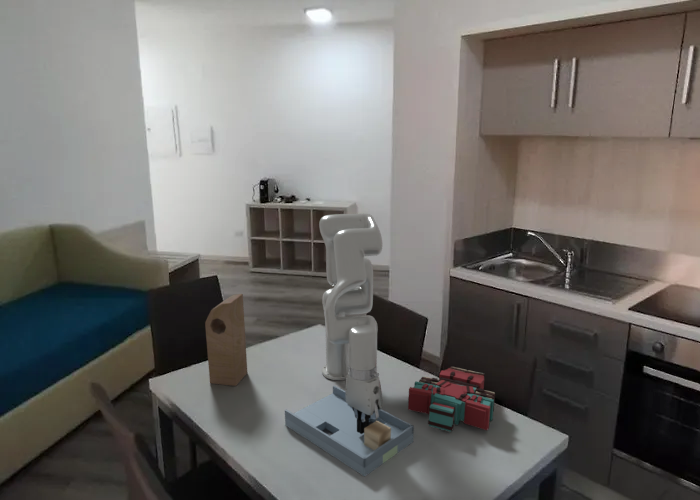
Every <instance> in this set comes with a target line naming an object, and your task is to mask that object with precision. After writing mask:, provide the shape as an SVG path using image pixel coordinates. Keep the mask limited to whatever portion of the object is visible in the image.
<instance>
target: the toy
mask: <svg viewBox="0 0 700 500" xmlns="http://www.w3.org/2000/svg"><path fill="white" fill-rule="evenodd" d="M438 376H439V377H438V378H436V377H428V376H421V378H420V379H419V380H418V381H415V382H414V386H413V387H412V386H409V388H408V398H407V399H408V400H407V401H408V403H407V404H408V405H407V410H408V411H411V412H412V411H413V412H417V413H423V414H425V415H429V416H428V420H427V425H428V427H431V428H433V429H437V430H442V431H444V432H448V433H452V431H453V430H454V428H455V425H457V426H458V425H459V424H460V422H463V423H464V424H465V425H468V426H472V427H475V428H479V429H480V430H484V431H488V430H489V429H490V422H492V421H493V419H494V418H493V416H494V411H495V401H496V399H495V398H496V393H495V392H494V391H490V390H485V389H484V387H485V373H483V372H478V371H473V370H467V369H464V368H460V367H455V366H450V367H448V368H447V369H444V370H440V373H439V375H438Z"/></svg>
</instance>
